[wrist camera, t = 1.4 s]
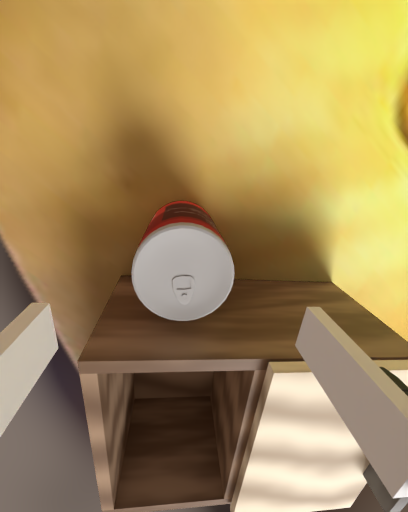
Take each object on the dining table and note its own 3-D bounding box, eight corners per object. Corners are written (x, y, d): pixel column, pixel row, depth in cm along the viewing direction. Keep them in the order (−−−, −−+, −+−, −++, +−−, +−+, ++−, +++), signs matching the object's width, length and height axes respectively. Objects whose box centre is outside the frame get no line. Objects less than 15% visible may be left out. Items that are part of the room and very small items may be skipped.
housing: (121, 275, 28) (77, 361, 16) (332, 282, 31) (426, 356, 19) (128, 399, 36) (102, 516, 24) (293, 393, 40) (342, 492, 28)
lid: (268, 361, 17) (292, 415, 14) (429, 359, 19) (489, 406, 15) (229, 507, 26) (238, 564, 22) (344, 495, 28) (369, 547, 24)
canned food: (163, 272, 28) (155, 333, 18) (137, 211, 25) (109, 245, 15) (222, 253, 28) (246, 305, 18) (203, 190, 25) (220, 209, 15)
